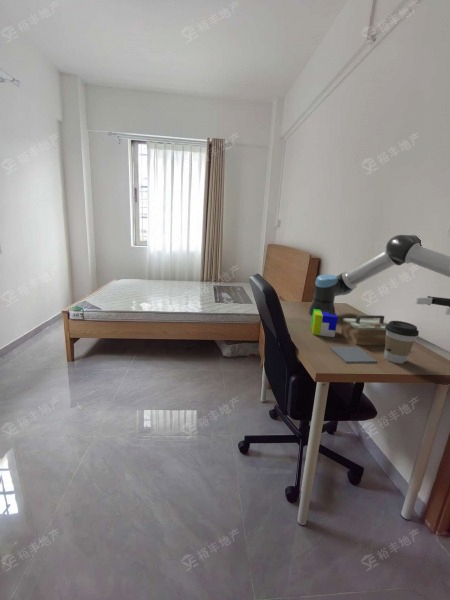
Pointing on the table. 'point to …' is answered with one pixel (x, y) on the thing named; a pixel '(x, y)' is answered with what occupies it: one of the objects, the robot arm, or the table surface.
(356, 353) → the slate mat
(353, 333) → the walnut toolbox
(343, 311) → the table surface
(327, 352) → the table surface
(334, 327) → the puzzle toy
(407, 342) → the coffee cup
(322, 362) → the table surface
